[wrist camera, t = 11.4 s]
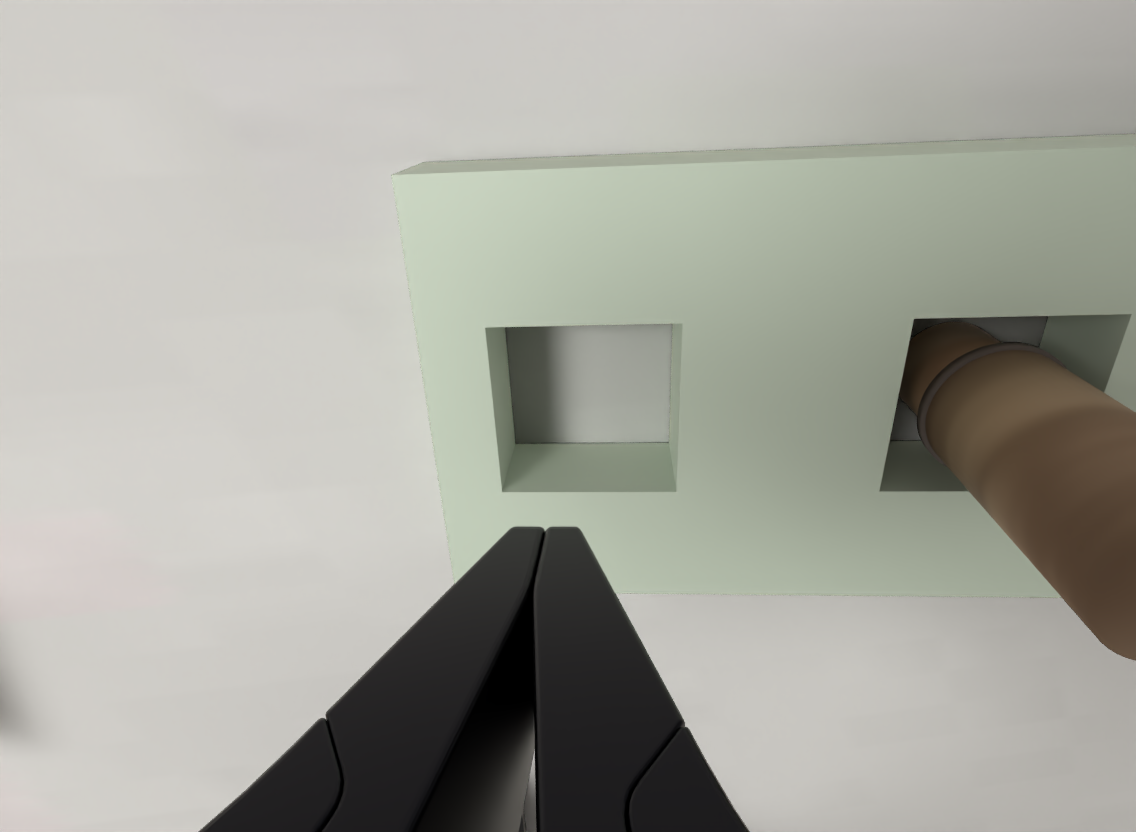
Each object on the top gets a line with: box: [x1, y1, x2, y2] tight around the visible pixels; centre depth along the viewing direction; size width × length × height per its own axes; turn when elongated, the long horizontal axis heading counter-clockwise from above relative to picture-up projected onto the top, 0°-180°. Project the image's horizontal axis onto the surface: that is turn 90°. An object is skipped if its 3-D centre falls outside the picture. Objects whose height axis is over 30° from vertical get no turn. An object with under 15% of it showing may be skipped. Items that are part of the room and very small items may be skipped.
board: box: [391, 134, 1136, 598], centre depth 19 cm, size 20×13×3 cm, turn 92°
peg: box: [899, 322, 1136, 660], centre depth 16 cm, size 4×4×10 cm
